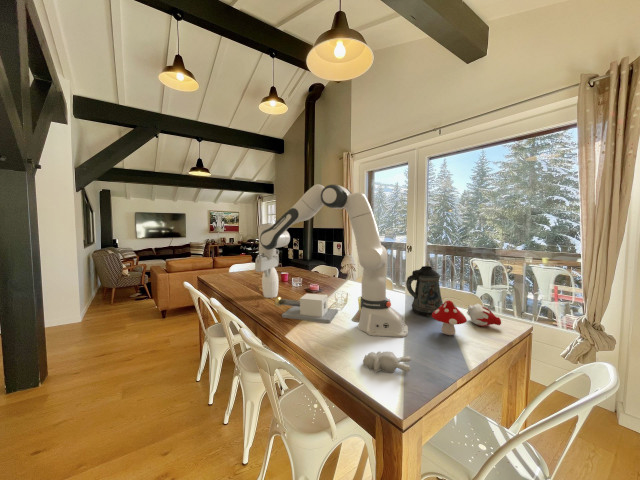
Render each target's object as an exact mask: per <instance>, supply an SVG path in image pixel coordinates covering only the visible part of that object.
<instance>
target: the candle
mask: <svg viewBox="0 0 640 480" xmlns="http://www.w3.org/2000/svg"><path fill="white" fill-rule="evenodd" d="M466 314H467V315H468V316H469V318H470V321H471V323H473V324H475V325H477V326H478V327H483V328H485V327H488V326H491V325H497V326H500V325H502V321H501V318H500V317H499V316H496V315H495V314H494V313H493V312H492V311H491V310H490V309H488V307H487V306H485V305H482V304H480V303H475V304H473V305H471V304H469V305H468V306H467V312H466Z"/></svg>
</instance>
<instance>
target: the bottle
mask: <svg viewBox="0 0 640 480" xmlns="http://www.w3.org/2000/svg"><path fill="white" fill-rule="evenodd" d="M262 272H263V273H262V277H261V286H262V287H261V288H262V295H263V297H264V299H265V298H266V299H273V298H276V297H278V294H279V293H278V292H279V274H278V272H277V269H276V267H274V268H271V273H270V277H265V274H264V271H262Z"/></svg>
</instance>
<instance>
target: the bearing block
mask: <svg viewBox="0 0 640 480" xmlns="http://www.w3.org/2000/svg"><path fill="white" fill-rule="evenodd" d="M299 301H300V307H299V306H291V307H290V308H288V310H286V311H284V312H283V313H282V314H281V318H282V319H292V320H301V321H310V322H317V323H326V324H331V322H332V321H333V320H334V318H335V316H336V315H337V314H338V312H339V310H338V308H337V309H336V308H328V294H318V293H307V292H306V293H305V294H304V295H303V296H301V297H300V298H299Z"/></svg>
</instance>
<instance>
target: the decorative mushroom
mask: <svg viewBox="0 0 640 480" xmlns="http://www.w3.org/2000/svg"><path fill="white" fill-rule="evenodd" d="M431 318H432V319H434V320H435V321H438V322H440V323H442V325H441V332H442V333H443V334H444V335H446V336H453V335H455V334H456V327H455V325H463V324H465V323H467V321H468V320H467V318H466V316H465V315H464V312H462V311H461V310H459V308H458V307H457V306H456V304H455V303H454V302H453V301H451V300H445V301H444V302H443V304H442V305H441V306H440V307H439V308H438V309H437V310H435V311H434V312H433V313H432V317H431Z"/></svg>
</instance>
